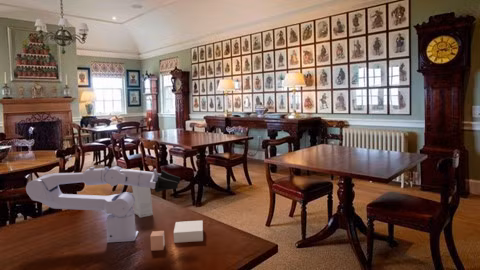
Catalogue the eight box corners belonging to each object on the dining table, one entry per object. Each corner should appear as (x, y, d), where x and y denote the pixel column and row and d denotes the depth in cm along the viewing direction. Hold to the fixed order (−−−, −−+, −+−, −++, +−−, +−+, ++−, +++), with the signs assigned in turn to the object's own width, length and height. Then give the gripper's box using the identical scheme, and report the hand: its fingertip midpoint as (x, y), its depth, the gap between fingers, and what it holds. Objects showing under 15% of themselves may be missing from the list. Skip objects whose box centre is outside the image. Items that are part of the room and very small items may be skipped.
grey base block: (174, 243, 118) (173, 232, 117) (176, 232, 128) (175, 222, 127) (202, 241, 119) (202, 230, 118) (202, 230, 129) (202, 220, 128)
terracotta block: (151, 250, 112) (150, 236, 112) (152, 245, 116) (152, 231, 116) (163, 249, 113) (162, 235, 112) (164, 244, 117) (164, 230, 116)
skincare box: (153, 215, 145) (151, 181, 143) (139, 218, 142) (137, 183, 140) (146, 210, 152) (144, 177, 150) (133, 212, 149) (131, 179, 147)
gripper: (137, 171, 113) (178, 176, 115) (145, 164, 128) (182, 168, 129) (135, 192, 114) (175, 196, 115) (143, 182, 128) (179, 186, 130)
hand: (178, 182), depth 122 cm, fingers open, 7 cm apart
